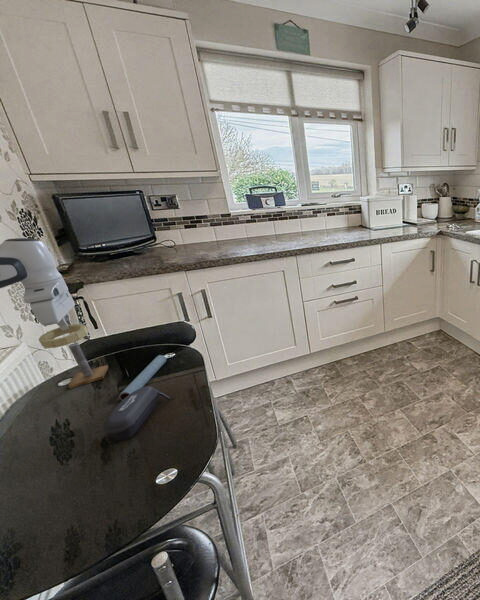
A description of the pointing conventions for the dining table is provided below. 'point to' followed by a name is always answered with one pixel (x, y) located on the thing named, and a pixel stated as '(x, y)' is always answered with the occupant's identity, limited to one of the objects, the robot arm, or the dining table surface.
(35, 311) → the robot arm
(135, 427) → the glasses case
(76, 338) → the tape
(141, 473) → the dining table surface
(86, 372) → the stand
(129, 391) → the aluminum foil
